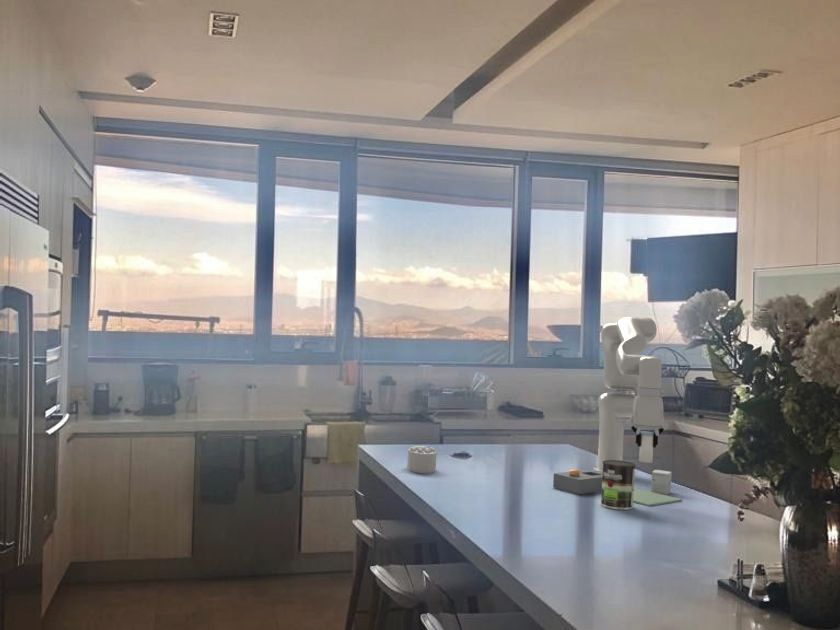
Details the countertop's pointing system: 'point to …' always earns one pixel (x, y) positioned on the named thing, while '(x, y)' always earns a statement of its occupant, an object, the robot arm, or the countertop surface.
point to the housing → (579, 482)
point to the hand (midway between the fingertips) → (646, 445)
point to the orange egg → (574, 472)
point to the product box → (661, 481)
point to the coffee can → (618, 484)
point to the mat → (652, 498)
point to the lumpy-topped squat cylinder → (421, 459)
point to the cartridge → (646, 447)
